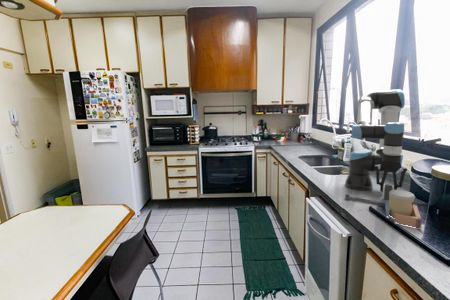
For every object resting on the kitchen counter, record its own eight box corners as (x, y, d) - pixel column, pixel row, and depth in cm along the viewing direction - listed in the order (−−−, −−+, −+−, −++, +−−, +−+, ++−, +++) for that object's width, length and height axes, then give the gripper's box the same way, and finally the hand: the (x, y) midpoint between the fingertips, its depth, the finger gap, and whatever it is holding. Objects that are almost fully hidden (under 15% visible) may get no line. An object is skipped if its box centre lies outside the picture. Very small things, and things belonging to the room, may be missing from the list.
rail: (345, 197, 128) (346, 192, 127) (403, 207, 113) (404, 202, 113) (345, 199, 126) (345, 194, 125) (404, 209, 111) (404, 203, 111)
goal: (393, 209, 112) (394, 201, 111) (415, 213, 107) (416, 204, 106) (394, 224, 99) (395, 214, 98) (420, 229, 94) (421, 219, 93)
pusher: (379, 202, 119) (381, 182, 117) (393, 205, 116) (396, 184, 114) (379, 216, 105) (381, 194, 103) (395, 219, 102) (398, 196, 100)
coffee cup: (417, 223, 99) (420, 197, 97) (393, 222, 101) (395, 196, 98) (404, 213, 108) (407, 189, 106) (382, 212, 110) (385, 189, 107)
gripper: (372, 154, 113) (368, 198, 117) (413, 156, 104) (408, 204, 108) (372, 151, 119) (369, 193, 123) (411, 153, 110) (406, 198, 114)
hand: (387, 198), depth 116 cm, fingers closed on pusher, 3 cm apart
